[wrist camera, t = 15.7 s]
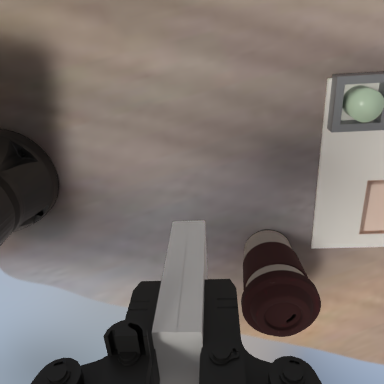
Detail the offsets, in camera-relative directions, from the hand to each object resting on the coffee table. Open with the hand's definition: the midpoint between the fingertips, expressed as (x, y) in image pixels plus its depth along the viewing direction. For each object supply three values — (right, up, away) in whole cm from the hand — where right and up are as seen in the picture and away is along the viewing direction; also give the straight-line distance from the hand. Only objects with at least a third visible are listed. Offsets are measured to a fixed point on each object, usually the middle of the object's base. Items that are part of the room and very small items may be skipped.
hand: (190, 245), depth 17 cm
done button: (+22, +15, +30) cm, 40 cm away
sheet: (+27, +6, +34) cm, 44 cm away
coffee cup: (+12, -6, +41) cm, 43 cm away
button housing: (+22, +14, +30) cm, 39 cm away
